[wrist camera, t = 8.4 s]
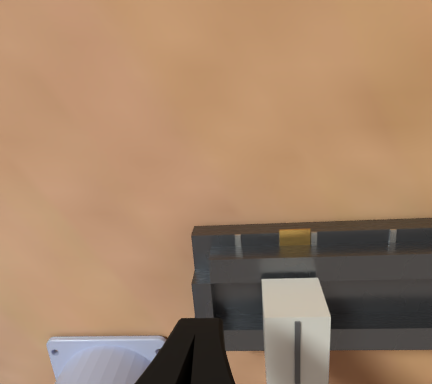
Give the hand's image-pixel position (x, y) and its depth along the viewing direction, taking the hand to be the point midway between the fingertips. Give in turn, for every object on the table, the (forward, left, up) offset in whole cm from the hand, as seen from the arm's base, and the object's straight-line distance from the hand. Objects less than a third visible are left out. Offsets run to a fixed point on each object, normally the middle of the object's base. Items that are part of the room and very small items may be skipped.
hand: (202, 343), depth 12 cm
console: (-4, -9, -10) cm, 14 cm away
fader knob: (-4, -3, -8) cm, 10 cm away
